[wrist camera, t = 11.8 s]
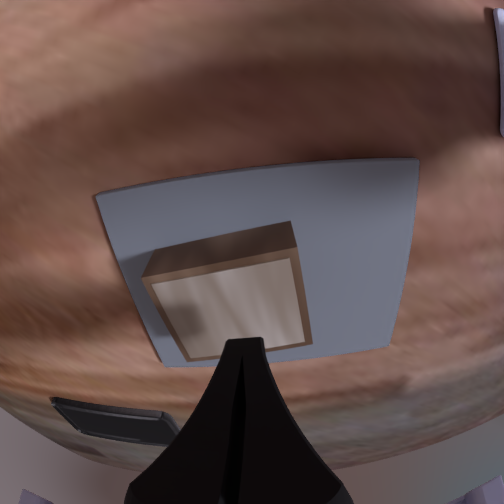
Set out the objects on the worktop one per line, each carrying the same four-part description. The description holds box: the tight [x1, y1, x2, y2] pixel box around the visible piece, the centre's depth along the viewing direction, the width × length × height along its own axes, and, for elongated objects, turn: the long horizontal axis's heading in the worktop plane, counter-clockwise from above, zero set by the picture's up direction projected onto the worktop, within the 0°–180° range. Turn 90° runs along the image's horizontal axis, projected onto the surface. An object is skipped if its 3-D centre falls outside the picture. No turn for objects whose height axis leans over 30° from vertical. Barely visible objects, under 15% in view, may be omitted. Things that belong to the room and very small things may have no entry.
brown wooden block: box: [141, 221, 313, 362], centre depth 15 cm, size 3×6×7 cm
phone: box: [51, 397, 181, 447], centre depth 27 cm, size 8×1×15 cm
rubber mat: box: [96, 158, 420, 367], centre depth 17 cm, size 16×13×1 cm
